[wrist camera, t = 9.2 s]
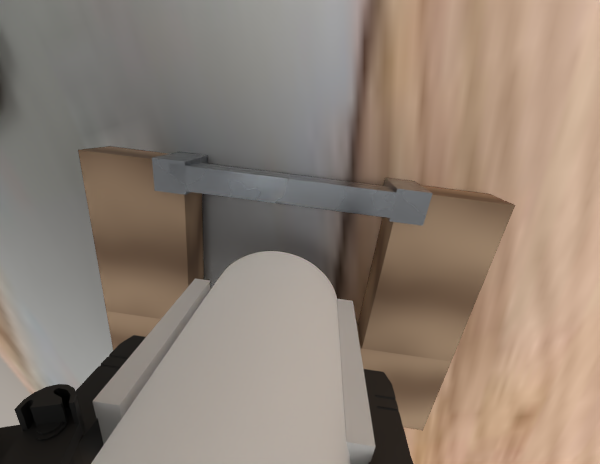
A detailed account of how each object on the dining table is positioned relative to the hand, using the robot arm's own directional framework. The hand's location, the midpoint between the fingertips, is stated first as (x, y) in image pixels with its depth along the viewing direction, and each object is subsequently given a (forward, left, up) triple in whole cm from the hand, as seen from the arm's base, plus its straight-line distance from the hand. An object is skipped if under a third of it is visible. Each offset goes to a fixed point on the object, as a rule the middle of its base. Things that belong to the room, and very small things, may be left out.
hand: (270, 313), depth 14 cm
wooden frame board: (+2, 0, -6) cm, 7 cm away
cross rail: (-5, 0, -6) cm, 8 cm away
